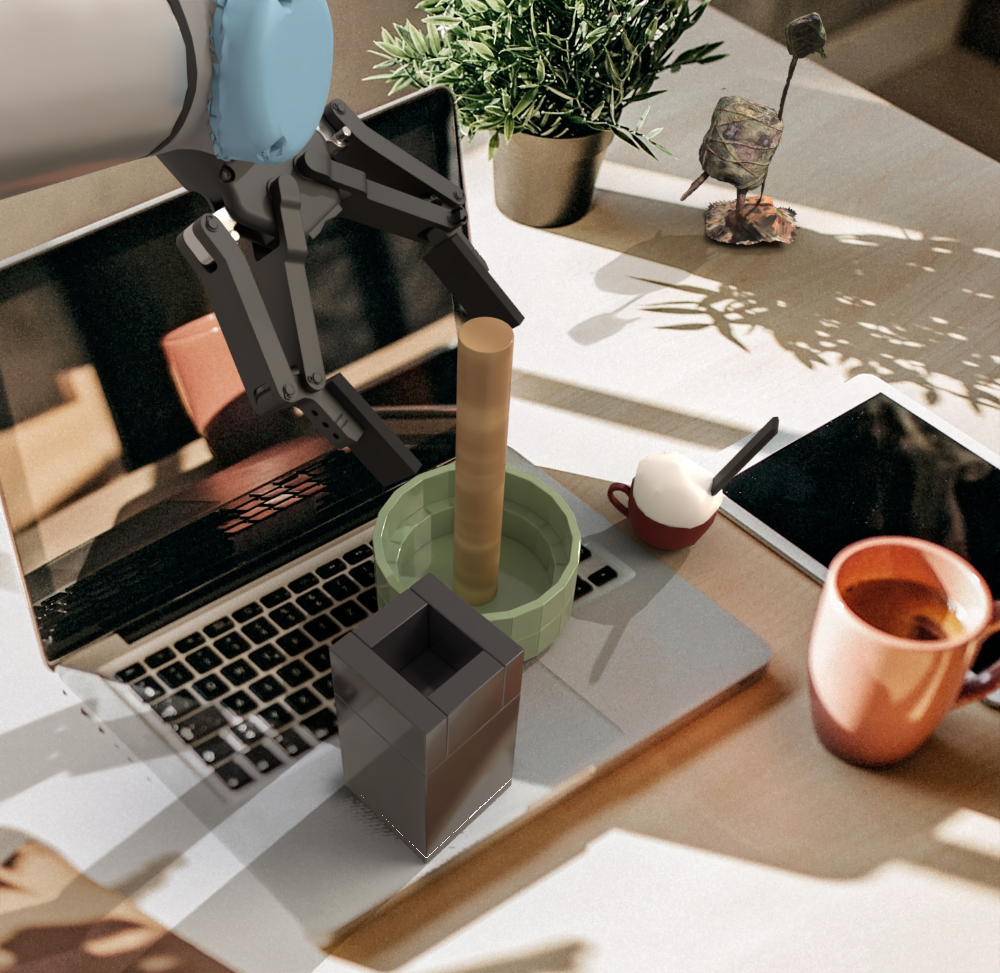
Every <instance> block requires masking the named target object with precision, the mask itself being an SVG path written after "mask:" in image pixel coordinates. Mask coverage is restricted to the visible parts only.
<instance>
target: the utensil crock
mask: <svg viewBox="0 0 1000 973" xmlns="http://www.w3.org/2000/svg"><path fill="white" fill-rule="evenodd" d="M328 651H329V653H328V654H329V663H330V670H331V678H332V679H331V680H332V687H333V688H332V689H333V695H334V697H333V698H334V706H335V713H336V721H337V730H338V739H339V748H340V756H341V764H342V772H343V773H342V774H343V781H344V786H346V788H348V789H349V791H351V792H352V793H353V794H354V795H355V796H356V797H357V798H358V799H359V800H360V801H361V802H362V803H363V804H364V805H365V806H366V807H367V808H368V809H369V810H370V811H371V812H372V813H373V814H374V815H375V816H376V817H377V818H378V819H379V820H380V821H381V822H382V823H383V824H385V826H386V827H388V828H389V830H390V831H391V832H393V833H394V834H395V836H397V837H398V839H400V840H401V841H402V843H404V845H406V846H407V847H408V848H409V849H410V850H411V851H412V852H413V853H414V854H415V855H416V856H417V857H418V858H419V859H420V860H421V861H422V862H423V863H424V864H425V865H427V864H428V863H430V862H431V861H432V860H433V859H434V858H435V857H436V856H437V855H438V854H439V853H440V852H442V851H443V849H445V848H446V847H447V846H448V845H449V844H450V843H451V842H452V841H453V840H454V839H455V838H456V837H458V835H459V834H461V833H462V832H463V831H464V830H465V829H466V828H467V827H468V826H469V825H470V824H471V823H472V822H474V821H475V820H476V819H477V818H478V817H479V816H480V815H481V814H482V813H483V812H484V811H485V810H487V808H489V806H491V805H492V804H493V802H495V801H496V800H497V799H498V798H499V797H500V796H501V795H502V794H503V793H505V791H507V789H509V788H510V787H511V786H512V782H513V771H514V764H515V754H516V753H515V752H516V743H517V732H518V723H519V722H518V721H519V715H520V714H519V713H520V702H521V693H522V692H521V691H522V682H523V672H524V663H525V661H524V654H525V650H524V648H522V647H521V646H520V645H519V644H517V643H516V642H515V641H514V640H512V639H511V638H510V637H509V636H507V635H506V634H505V633H504V632H503V631H501V630H500V629H499V628H498V627H496V626H495V625H494V624H493V623H491V622H490V621H489V620H488V619H487V618H485V617H484V616H483V615H482V614H480V613H479V612H478V611H477V610H475V609H474V608H473V607H472V606H471V605H469V604H468V603H467V602H466V601H464V600H463V599H462V598H461V597H459V596H458V595H457V594H456V593H454V592H453V591H452V590H451V589H450V588H448V587H447V586H446V585H445V584H443V583H442V582H441V581H440V580H438V579H437V578H436V577H435V576H434V575H432V574H431V573H428V574H426V575H425V576H424V577H422V578H421V579H420V580H418V581H417V582H416V583H414V584H413V585H412V586H410V588H408V589H406V590H405V591H404V592H402V593H401V594H400V595H399V596H397V597H396V598H395V599H393V600H392V601H391V602H389V603H388V604H387V605H385V606H384V607H383V608H381V609H380V610H379V611H378V610H377V611H376V612H375V613H373V614H372V615H371V616H369V617H368V618H367V619H365V620H364V621H363V622H362V623H360V624H359V625H357V626H356V627H355V628H353V629H352V630H351V631H350V632H348V633H346V634H345V635H344V636H342V637H341V638H340V639H338V641H336V642H335V643H333V644H332V645H331V646H330V647H328ZM511 778H512V779H511ZM510 779H511V780H510ZM509 780H510V781H509ZM508 781H509V782H508ZM507 782H508V783H507ZM505 783H507V784H506V785H505ZM504 785H505V786H504ZM502 786H504V787H503V788H502V789H501V787H502ZM499 789H501V790H500V791H498V790H499ZM497 791H498V792H497ZM496 792H497V793H496ZM495 793H496V794H495ZM494 794H495V795H494ZM361 795H362V796H361ZM493 795H494V796H493ZM492 796H493V797H492ZM363 797H364V798H363ZM490 797H492V798H491V799H490ZM488 799H490V800H489V801H488ZM487 801H488V802H487ZM485 802H487V803H486V804H485V805H483V804H484V803H485ZM482 805H483V806H482ZM480 806H482V807H481V808H480V809H479V807H480ZM478 809H479V810H478ZM476 810H478V811H477V812H476V813H475V814H474V815H473V816H472V817H471V818H470V819H469V817H470V816H471V815H472V814H473V813H474V812H475V811H476ZM382 815H383V816H382ZM386 819H387V820H386ZM467 819H468V820H467ZM466 820H467V821H466ZM388 821H389V822H388ZM465 821H466V822H465ZM464 822H465V823H464ZM463 823H464V824H463ZM462 824H463V825H462ZM392 825H393V826H394V827H393V826H392ZM461 825H462V826H461ZM460 826H461V827H460ZM459 827H460V828H459ZM458 828H459V829H458ZM396 829H397V830H398V831H399V832H400V833H401V834H402V835H403V836H402V835H401V834H400V833H399V832H398V831H397V830H396ZM457 829H458V830H457ZM456 830H457V831H456ZM455 831H456V832H455ZM453 832H454V833H453ZM449 836H450V837H449ZM448 837H449V838H448ZM447 838H448V839H447ZM446 839H447V840H446ZM445 840H446V841H445ZM409 841H410V842H409ZM444 841H445V842H444ZM442 842H444V843H443V844H442ZM412 844H413V845H414V846H413V845H412ZM441 844H442V845H441ZM440 845H441V846H440ZM437 847H438V848H437ZM416 848H417V849H418V850H419V851H420V852H421V853H422V854H423V855H424V856H425V857H428V856H429V854H431V853H432V852H433V851H434V850H435V849H436V848H437V849H436V850H435V851H434V852H433V853H432V854H431V855H430V856H429V857H428V858H425V857H424V856H423V855H422V854H421V853H420V852H419V851H418V850H417V849H416Z"/></svg>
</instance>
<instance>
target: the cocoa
mask: <svg viewBox="0 0 1000 973" xmlns="http://www.w3.org/2000/svg"><path fill="white" fill-rule="evenodd" d="M779 426H780V418H779V416H772V417H771V418H770V419H769V420H768V421H767V422H766V423H765V424H764V425H763V426H762V427H761V428H760V429H759V430H758V431H757V433H755V435H754V436H753V437H751V439H750V440H749V441H747V443H746V444H745V445H744V446H743V447H741V449H740V450H739V451H738V452H737V453H736V454H735V455H734V456H733V457H732V459H730V460H729V461H728V462H727V463H726V464H725V465H724V466H723V467H722V468H721V470H719V471H718V472H717V473H716V474H714V473H713V472H711V471H709V470H708V469H706V468H704V467H702V466H701V465H699V464H698V463H697V462H695V461H693V460H691V459H690V458H689V457H687V456H685V455H684V454H682V453H680V452H678V451H677V450H674V451H668V452H667V451H666V452H661V453H655V454H649V455H648V456H646V457H644V458H642V459H640V460H639V462H638V465H637V468H636V472H635V476H634V477H633V478H632V480H631V483H630V486H629V485H628V484H625V483H623V482H612V483H611V484H609V487H608V489H607V492H606V496H607V499H608V501H609V503H610V504H611V505H612V506H613V507H614V509H615V510H617V511H618V512H619V513H620V514H622V515H623V516H624V517H625V518H627V519H629V522H630V524H631V526H632V529H633V531H634V532H635V534H636V535H637V536H638V537H640V538H641V540H643V541H644V542H645V543H646V544H647V545H650V546H652V547H654V548H657V549H659V550H663V551H679V550H683V549H686V548H689V547H691V546H694V545H695V544H697V542H698V541H699V540H700V539H701V538H702V537H703V535H705V533H706V532H707V531H708V530H709V529H710V527H712V525H713V523H714V521H715V519H716V517H717V515H718V511H719V508H720V506H721V504H722V503H723V501H724V493H723V489H724V488H725V487H726V486H727V485H728V483H730V482H731V481H732V479H734V478H735V477H736V476H737V475H738V474H739V473H740V472H741V471H742V469H744V468H745V467H746V466H747V465H748V464H749V463H750V462H751V461H752V460H753V459H754V458H755V457H756V456H757V455H758V454H759V452H761V451H762V450H763V449H764V448H765V446H767V444H768V443H770V441H772V440H773V439H774V438H775V437H776V436H777V434H778V433H779ZM617 491H618V492H622V493H624V494H625V495H626V496H627V497H628V499H627V506H625V505H624V504H623V503H622V502H621V501H620V500H619V499H618V498H617V497H616V496H615V494H614V492H617Z"/></svg>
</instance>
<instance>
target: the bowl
mask: <svg viewBox="0 0 1000 973" xmlns="http://www.w3.org/2000/svg"><path fill="white" fill-rule="evenodd" d="M454 509H455V463H452V464H451V463H450V464H446V465H442V466H439V467H436V468H434V469H431V470H428V471H425V472H422V473H419V474H416V475H415V476H414V477H413V478H411V479H409V480H408V481H407V482H405V484H403V485H400V487H398V488H397V489H396V490H394V491H393V493H392V494H391V495H390V497H389V498H388V499H387V501H385V503H384V505H383V506H382V507H381V508H380V510H379V512H378V514H377V516H376V517H377V518H376V521H375V524H374V528H373V532H372V537H371V539H372V554H373V556H372V557H373V571H374V572H373V573H374V588H375V596H376V603H377V611H379V610H380V609H381V608H383V607H384V606H385V605H387V604H388V603H389V602H391V601H392V600H393V599H395V598H396V597H397V596H399V595H400V594H401V593H402V592H404V591H405V590H406V589H408V588H410V586H412V585H413V584H414V583H416V582H417V581H418V580H420V579H421V578H422V577H424V576H425V575H426V574H428V573H431V574H432V575H434V576H435V577H436V578H437V579H438V580H440V581H441V582H442V583H443V584H445V585H446V586H447V587H448V588H450V589H451V590H452V591H453V560H454ZM581 546H582V535H581V532H580V529H579V526H578V522H577V518H576V515H575V513H574V512H573V510H572V509H571V508H570V506H569V505H568V504H567V503H566V501H565V500H564V498H563V497H562V496H561V494H559V492H557V491H556V490H555V489H553V488H552V487H550V486H549V485H548V484H546V483H545V482H544V481H542V480H541V479H539V478H538V477H537V476H535V475H533V474H529V473H527V472H524V471H522V470H519V469H517V468H514V467H512V466H509V465H508V466H507V465H506V469H505V484H504V499H503V514H502V529H501V544H500V559H499V575H498V590H497V594H496V596H495V597H494V598H493V599H492V600H491V601H490V602H488V603H486V604H484V605H479V606H472V605H471V606H472V607H473V608H474V609H475V610H477V611H478V612H479V613H480V614H482V615H483V616H484V617H485V618H487V619H488V620H489V621H490V622H491V623H493V624H494V625H495V626H496V627H498V628H499V629H500V630H501V631H503V632H504V633H505V634H506V635H507V636H509V637H510V638H511V639H512V640H514V641H515V642H516V643H517V644H519V645H520V646H521V647H522V648H524V650H525V654H524V662H526V661H528V660H531V659H533V658H535V657H537V656H538V655H540V653H542V652H543V651H544V650H546V649H547V648H548V647H549V646H550V645H551V644H552V643H554V642H555V641H556V640H557V639H558V638H559V637H560V636H561V634H562V632H563V630H564V628H565V627H566V625H567V623H568V621H569V619H570V617H571V615H572V613H573V605H574V599H575V591H576V584H577V578H578V573H579V572H578V571H579V565H580V558H581V548H582V547H581ZM453 592H454V591H453Z"/></svg>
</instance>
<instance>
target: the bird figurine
mask: <svg viewBox="0 0 1000 973" xmlns="http://www.w3.org/2000/svg"><path fill="white" fill-rule="evenodd" d="M784 37H785V39H786V40H785V42H786V50H787V52H788V54H789V56H792V58H791V61H790V63H789V66H788V72H787V77H786V79H785V85H784V86H783V90H782V93H781V94H782V95H781V97H780V102H779V109H778V112H777V110H776V109H775V108H773V107H769V106H766V105H764V104H763V103H760V102H757V101H754V100H750V99H747V98H746V97H743V96H740V95H725V96H721V97H720V98H719V99H718V101H717V103H716V105H715V107H714V109H713V111H712V115H711V119H710V126H709V128H708V130H707V132H706V133H705V134H704V136H703V138H702V143H701V144H700V145H699V146H700V147H699V149H698V161H699V163H700V165H701V171H703V172H702V173H701V174H700V175H699V176H698V177H697V178H696V179H695V180H694V181H692V183H690V186H689V188H688V189H687V190H686V191H685V192H684V193H683V194H682V195H681V197H680V199H679V201H680V202H684V201H686V199H688V198H689V197H690V196H691V195H692V194H693V193H694V192H695V191H697V190H698V188H700V187H701V186H702V185H703V184H704V183H705V181H707V180H708V179H709V178H710V179H715V180H716V181H718V182H723V183H727V184H729V185H732V186H733V187H734V188H735V189H736V198H735V199H732V200H730V199H729V200H727V201H726V200H725V199H723V200H720V199H719V200H718V201H714V202H709V205H707V207H705V210H706V211H705V213H706V214H705V216H706V220H705V223H706V224H705V225H704V226H705V229H706V231H705V233H706V234H707V237H710V239H712V240H715V241H717V242H719V243H722V242H723V243H727V244H736V245H741V244H743V245H745V246H748V245H749V246H751V245H754V244H758V243H761V242H762V241H764V242H767V243H772V242H774V241H778V242H782V243H785V244H787V245H790V244H791V243H792V242H793V241H795V240H796V238H794V237H797V234H796V231H798V230H800V229H801V227H799V226H797V224H796V223H798V221H797V219H796V217H797V215H798V213H797V212H796V211H795V209H793V208H791V207H790V206H789V207H788V208H787V207H784V206H779V207H776V206H775V205H774V200H773V199H772V197H771V196H766V195H763V194H764V190H765V184H766V180H767V177H768V172H769V166H770V164H771V163H772V160H773V157H774V156H775V154H776V151H777V149H778V147H779V146H780V144H781V143H782V141H783V132H784V128H785V126H784V118H783V115H784V107H785V105H786V104H785V103H786V99H787V95H788V92H789V88H790V84H791V80H792V79H793V76H794V73H795V70H796V67H797V65H798V62H799V61H798V60H803V59H805V58H806V57H808V56H810V55H814V54H815V53H817V54H820V55H819V56H820V58H821V59H823V60H827V59H828V55H827V53H826V50H825V49H824V47H825V46H826V45H827V43H828V41H827V33H826V29H825V27H824V24H823V21H822V19H821V16H820V14H818V12H815V11H813V12H811V13H808V14H805V15H803V16H799V17H796V18H794V19H793V20H792V21H790V22H789V23H787V24H786V26H785V27H784ZM726 89H727V88H726V87H722V88H721V90H722V91H725V90H726ZM759 188H760V195H753V196H750V195H749V196H747V194H748V193H749V191H755V190H757V189H759Z"/></svg>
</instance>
